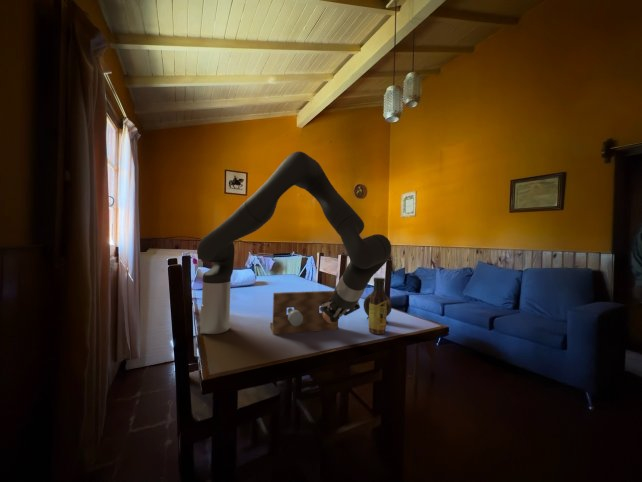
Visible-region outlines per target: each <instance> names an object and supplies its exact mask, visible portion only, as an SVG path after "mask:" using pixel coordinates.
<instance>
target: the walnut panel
mask: <svg viewBox="0 0 642 482" xmlns="http://www.w3.org/2000/svg"><path fill="white" fill-rule="evenodd" d="M333 292H334V290H319V291H317V290H315V291H287V292H285V291H284V292H273V297H272V299H273V300H272V322H270V324H269V328H270V330H271V332H272V335H283V334H295V333H297V334H298V333H307V332H321V331H331V330H332V331H334V330H339V320H337V321H336V322H334V323H328V322H327V321H326V320H325V319H324V318H323V316H322V314H323V313H322V312H320V307H322V306H321V302H325V303H327V302H329V300H330V299H331V298H332V296H333ZM329 307H330V308H331V306H329ZM289 308H291V309H292V308H293V310H298V311H299V312H300V313H301V314H302V316H303V321H302V323H301V324H300V325H298V326H294V325H292V324H291V323H290V321H289V320H288V314H287V313H288V309H289ZM331 309H332V308H331Z"/></svg>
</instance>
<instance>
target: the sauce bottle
mask: <svg viewBox="0 0 642 482" xmlns="http://www.w3.org/2000/svg"><path fill="white" fill-rule="evenodd" d="M385 283H386V279H385V278H384V277H373V291H372V292H371V293H370V294H371V295H370V294H369V295H370V305H369V318H368V331H369V333H371V334H373V335H374V334H375V335H384V334H385V333H386V329H387V323H386V320H387V317H386V315H387V298H386V295H387V294H386V292H385Z"/></svg>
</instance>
